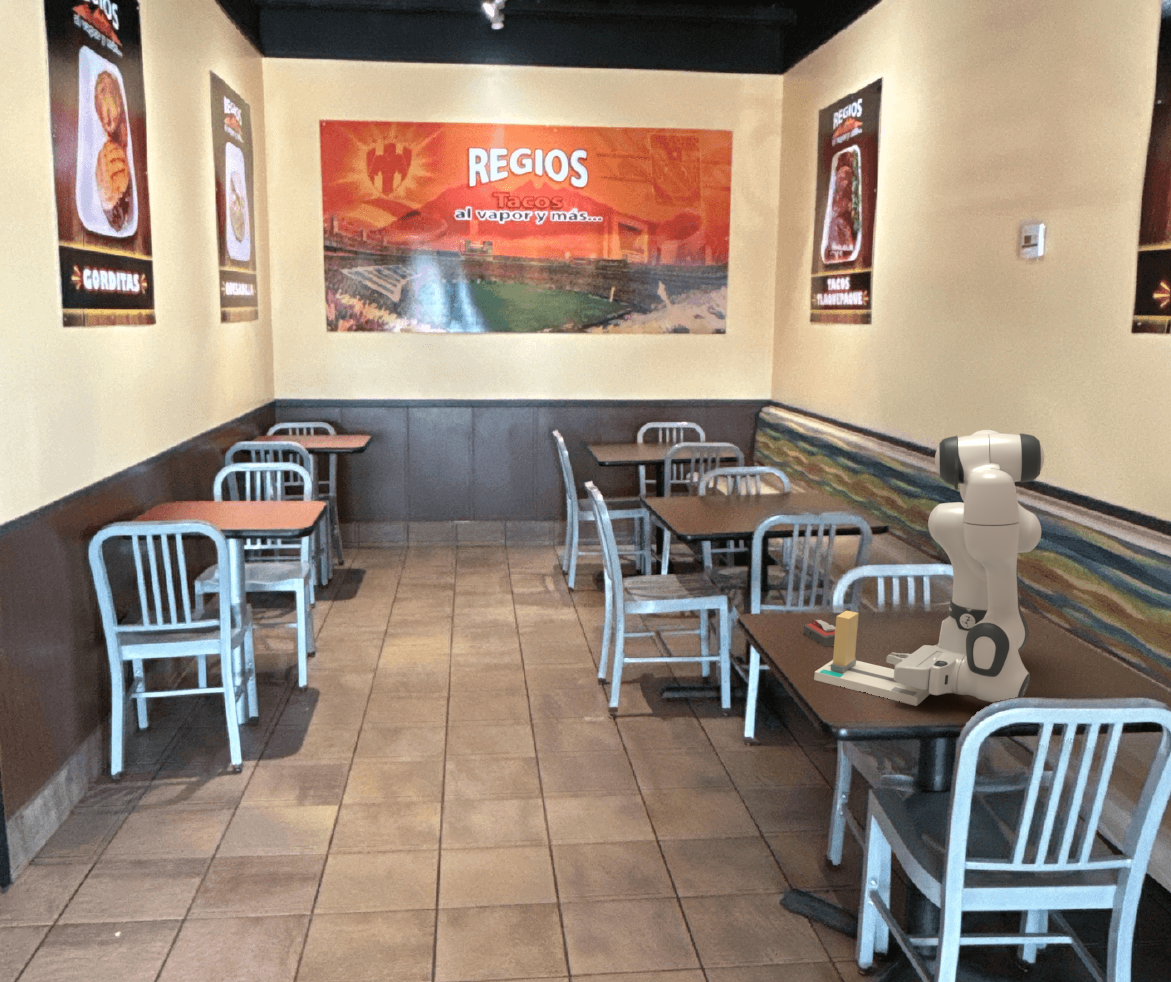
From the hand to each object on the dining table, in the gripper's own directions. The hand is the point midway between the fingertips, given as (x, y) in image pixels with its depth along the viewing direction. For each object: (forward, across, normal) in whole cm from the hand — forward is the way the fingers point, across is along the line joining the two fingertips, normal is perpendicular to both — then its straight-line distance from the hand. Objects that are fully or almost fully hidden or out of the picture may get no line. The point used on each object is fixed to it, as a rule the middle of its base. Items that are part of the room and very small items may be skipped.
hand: (888, 657), depth 238 cm
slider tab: (+10, 0, +5) cm, 12 cm away
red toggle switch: (+27, -25, +8) cm, 38 cm away
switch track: (+3, 0, +7) cm, 8 cm away
